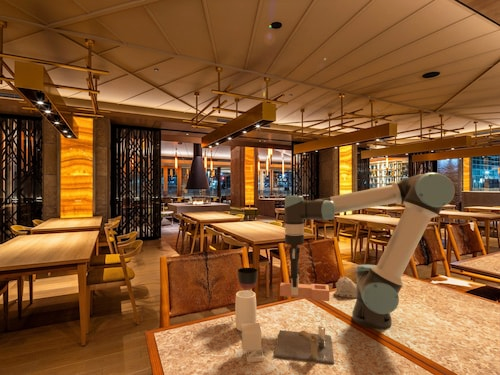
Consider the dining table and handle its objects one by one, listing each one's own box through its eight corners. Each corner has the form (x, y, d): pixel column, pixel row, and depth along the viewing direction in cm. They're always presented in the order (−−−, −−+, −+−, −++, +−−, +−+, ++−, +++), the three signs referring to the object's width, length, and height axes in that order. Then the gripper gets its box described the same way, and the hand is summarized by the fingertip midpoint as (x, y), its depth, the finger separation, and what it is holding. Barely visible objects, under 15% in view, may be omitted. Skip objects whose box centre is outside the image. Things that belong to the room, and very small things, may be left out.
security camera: (241, 352, 95) (241, 322, 95) (261, 351, 96) (261, 321, 96) (242, 363, 89) (242, 332, 89) (264, 362, 90) (263, 331, 90)
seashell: (365, 299, 140) (365, 279, 141) (337, 298, 141) (337, 279, 141) (357, 290, 153) (356, 271, 153) (331, 290, 153) (331, 271, 153)
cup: (259, 326, 113) (259, 291, 113) (252, 336, 105) (252, 299, 105) (239, 323, 116) (239, 289, 116) (231, 333, 108) (231, 296, 108)
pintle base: (330, 338, 103) (330, 318, 103) (334, 367, 87) (334, 343, 87) (279, 333, 108) (279, 313, 108) (273, 359, 91) (273, 336, 91)
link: (328, 294, 112) (328, 284, 112) (329, 301, 106) (329, 290, 106) (281, 291, 116) (281, 281, 116) (279, 297, 110) (279, 287, 110)
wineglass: (256, 320, 118) (255, 273, 118) (236, 318, 120) (235, 272, 120) (259, 312, 126) (258, 268, 126) (240, 310, 127) (240, 267, 127)
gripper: (286, 230, 121) (287, 284, 121) (282, 237, 104) (283, 299, 104) (304, 231, 119) (305, 285, 119) (303, 237, 103) (304, 301, 103)
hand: (295, 292), depth 112 cm, fingers closed on link, 4 cm apart
